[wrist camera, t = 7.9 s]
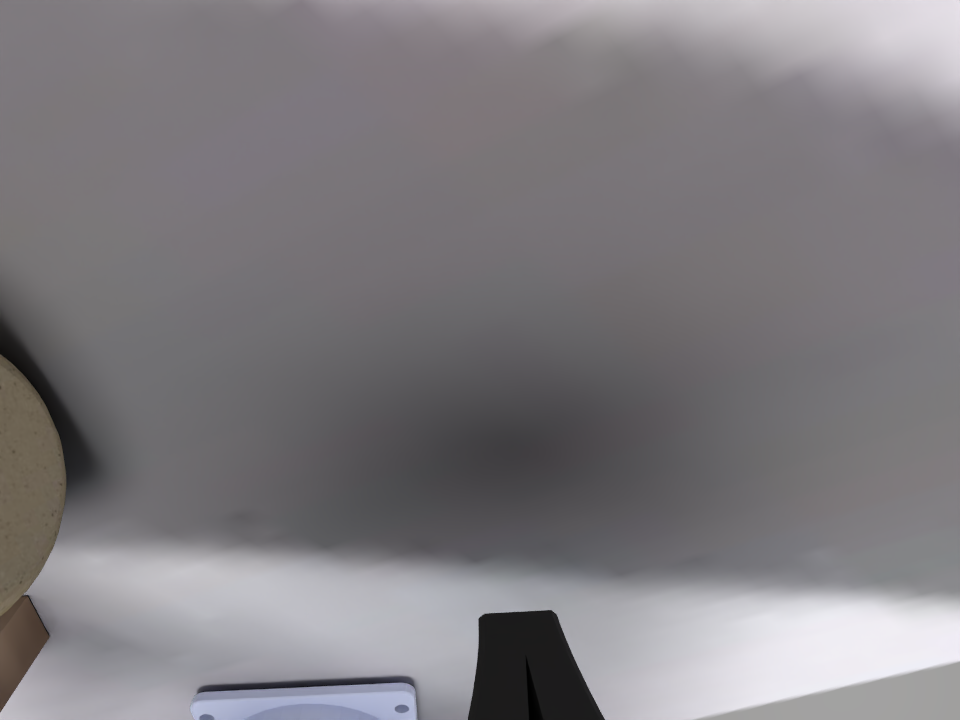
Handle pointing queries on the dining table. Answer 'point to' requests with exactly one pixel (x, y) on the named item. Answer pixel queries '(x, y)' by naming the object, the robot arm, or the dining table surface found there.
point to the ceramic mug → (26, 484)
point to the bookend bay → (18, 645)
